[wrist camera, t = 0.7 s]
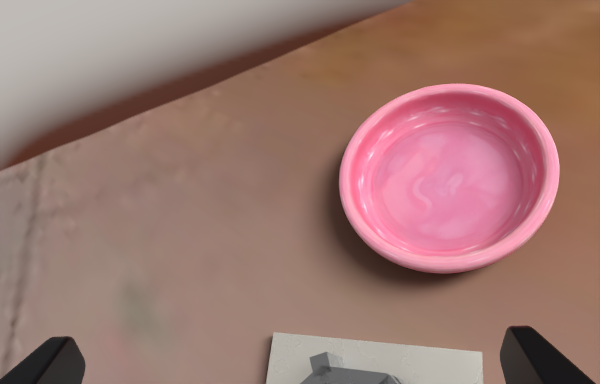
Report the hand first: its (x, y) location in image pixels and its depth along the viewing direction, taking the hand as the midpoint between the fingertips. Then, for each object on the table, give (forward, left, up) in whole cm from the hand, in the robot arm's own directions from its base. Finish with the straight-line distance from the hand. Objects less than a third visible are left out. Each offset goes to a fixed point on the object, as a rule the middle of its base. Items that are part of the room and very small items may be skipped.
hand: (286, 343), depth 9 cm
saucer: (+12, -1, -18) cm, 22 cm away
